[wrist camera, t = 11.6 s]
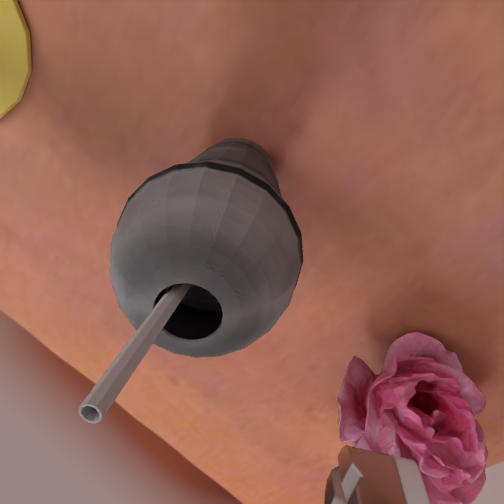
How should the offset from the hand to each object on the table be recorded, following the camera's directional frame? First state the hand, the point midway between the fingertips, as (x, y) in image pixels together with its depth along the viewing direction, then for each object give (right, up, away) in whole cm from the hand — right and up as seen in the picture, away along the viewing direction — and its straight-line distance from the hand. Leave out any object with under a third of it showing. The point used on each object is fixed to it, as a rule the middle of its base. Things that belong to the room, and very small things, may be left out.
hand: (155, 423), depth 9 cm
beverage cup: (+1, +9, +17) cm, 20 cm away
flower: (+11, -6, +25) cm, 28 cm away
